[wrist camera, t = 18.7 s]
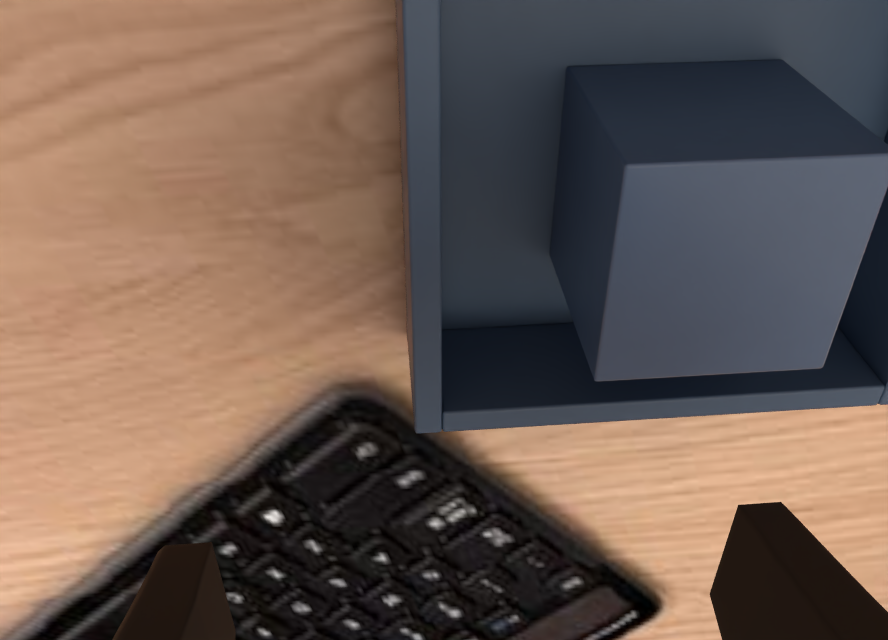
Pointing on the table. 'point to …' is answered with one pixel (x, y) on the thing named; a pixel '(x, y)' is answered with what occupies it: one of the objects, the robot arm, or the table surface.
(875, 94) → the blue bin
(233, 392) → the table surface
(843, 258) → the blue block
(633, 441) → the table surface
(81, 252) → the table surface
